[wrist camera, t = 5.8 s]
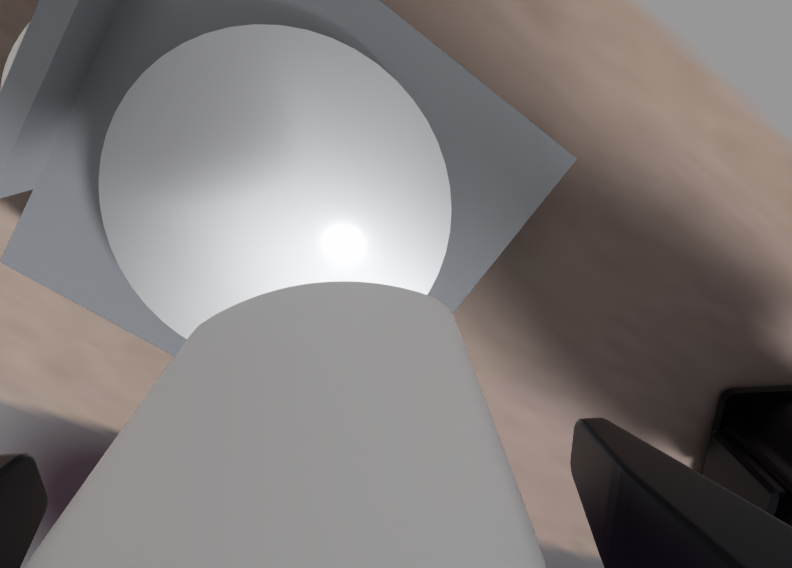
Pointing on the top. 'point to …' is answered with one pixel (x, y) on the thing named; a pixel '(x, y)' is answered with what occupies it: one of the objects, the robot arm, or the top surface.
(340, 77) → the dial scale
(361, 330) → the eye dropper bottle
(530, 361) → the top surface
